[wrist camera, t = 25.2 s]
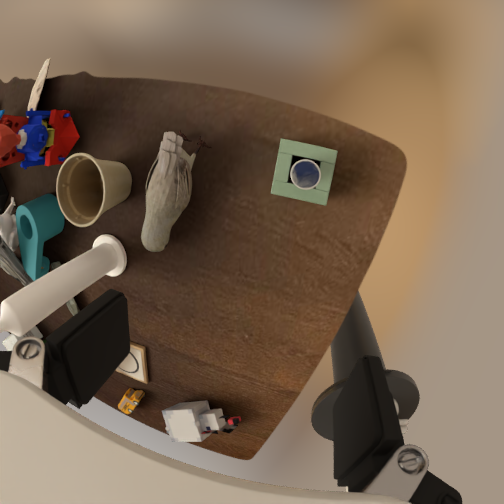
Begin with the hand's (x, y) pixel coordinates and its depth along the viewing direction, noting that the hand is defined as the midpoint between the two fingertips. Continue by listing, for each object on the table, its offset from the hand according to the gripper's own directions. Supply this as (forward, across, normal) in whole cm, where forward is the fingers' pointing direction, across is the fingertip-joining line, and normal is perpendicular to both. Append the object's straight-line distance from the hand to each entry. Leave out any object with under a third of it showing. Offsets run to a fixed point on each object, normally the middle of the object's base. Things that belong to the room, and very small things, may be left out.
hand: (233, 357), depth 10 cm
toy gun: (+19, +60, +15) cm, 64 cm away
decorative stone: (+25, +47, -17) cm, 56 cm away
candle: (+26, +26, +11) cm, 38 cm away
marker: (+26, -1, -7) cm, 27 cm away
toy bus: (+25, +22, +47) cm, 58 cm away
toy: (+21, +14, +41) cm, 48 cm away
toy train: (+26, +41, -8) cm, 49 cm away
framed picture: (+26, +24, +33) cm, 49 cm away
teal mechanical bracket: (+23, +38, +12) cm, 46 cm away
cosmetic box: (+22, +54, +39) cm, 70 cm away
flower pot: (+26, +25, -1) cm, 36 cm away
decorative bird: (+26, +14, -1) cm, 30 cm away
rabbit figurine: (+26, +54, +11) cm, 61 cm away
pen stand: (+26, -1, -7) cm, 27 cm away
